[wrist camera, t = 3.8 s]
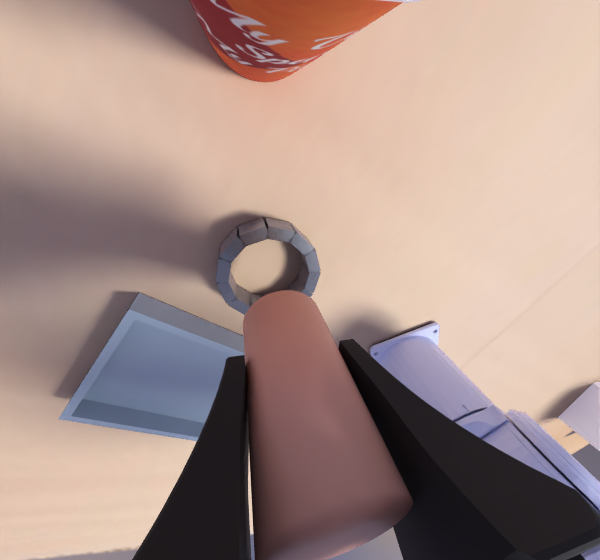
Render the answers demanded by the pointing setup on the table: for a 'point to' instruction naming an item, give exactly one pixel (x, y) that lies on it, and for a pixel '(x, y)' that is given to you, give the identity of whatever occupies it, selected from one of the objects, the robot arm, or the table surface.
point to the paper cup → (282, 31)
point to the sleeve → (257, 233)
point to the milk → (585, 415)
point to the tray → (156, 372)
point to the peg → (311, 439)
